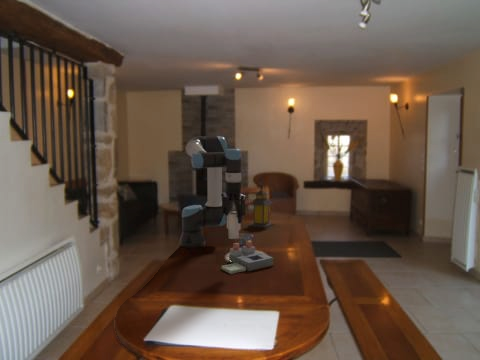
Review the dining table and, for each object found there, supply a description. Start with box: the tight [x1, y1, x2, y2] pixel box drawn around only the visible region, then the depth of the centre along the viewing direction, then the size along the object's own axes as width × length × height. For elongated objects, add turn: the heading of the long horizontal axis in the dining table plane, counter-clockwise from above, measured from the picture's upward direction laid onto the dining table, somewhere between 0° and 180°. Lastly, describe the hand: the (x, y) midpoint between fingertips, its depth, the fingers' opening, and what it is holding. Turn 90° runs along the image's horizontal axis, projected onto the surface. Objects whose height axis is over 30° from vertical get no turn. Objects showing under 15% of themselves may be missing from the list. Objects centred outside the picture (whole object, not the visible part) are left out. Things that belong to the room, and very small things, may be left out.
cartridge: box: [228, 210, 240, 240], centre depth 200 cm, size 5×5×13 cm
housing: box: [228, 245, 274, 272], centre depth 212 cm, size 18×15×7 cm
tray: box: [221, 263, 247, 275], centre depth 202 cm, size 9×9×2 cm
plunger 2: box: [246, 240, 253, 248], centre depth 218 cm, size 3×3×4 cm
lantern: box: [248, 183, 274, 229], centre depth 297 cm, size 14×14×30 cm
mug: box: [237, 233, 254, 251], centre depth 228 cm, size 12×9×11 cm
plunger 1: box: [232, 242, 239, 250], centre depth 213 cm, size 3×3×4 cm
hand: (233, 228), depth 200 cm, fingers closed on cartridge, 5 cm apart
